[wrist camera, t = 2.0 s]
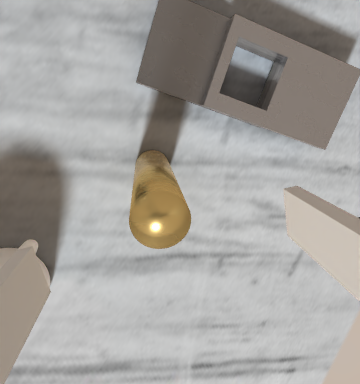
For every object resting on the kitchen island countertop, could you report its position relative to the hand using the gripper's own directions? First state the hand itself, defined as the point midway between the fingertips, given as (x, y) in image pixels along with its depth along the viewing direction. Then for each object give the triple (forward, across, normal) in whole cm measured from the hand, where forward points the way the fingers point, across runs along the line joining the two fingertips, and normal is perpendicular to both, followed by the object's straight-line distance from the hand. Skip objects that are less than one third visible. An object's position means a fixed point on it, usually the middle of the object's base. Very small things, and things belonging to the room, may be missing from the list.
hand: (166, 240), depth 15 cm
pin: (+17, 0, 0) cm, 17 cm away
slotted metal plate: (+17, +11, +7) cm, 21 cm away
